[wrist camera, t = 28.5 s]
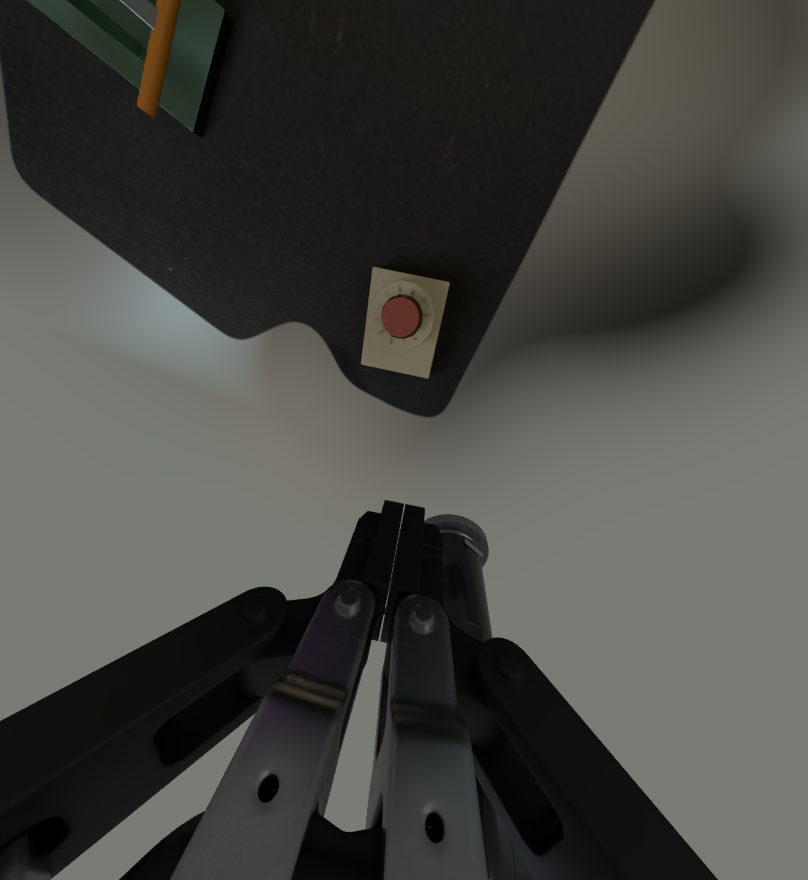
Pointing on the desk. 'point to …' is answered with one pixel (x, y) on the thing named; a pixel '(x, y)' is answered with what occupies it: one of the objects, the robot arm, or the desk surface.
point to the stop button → (400, 316)
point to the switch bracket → (126, 42)
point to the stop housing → (418, 346)
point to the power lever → (155, 47)
